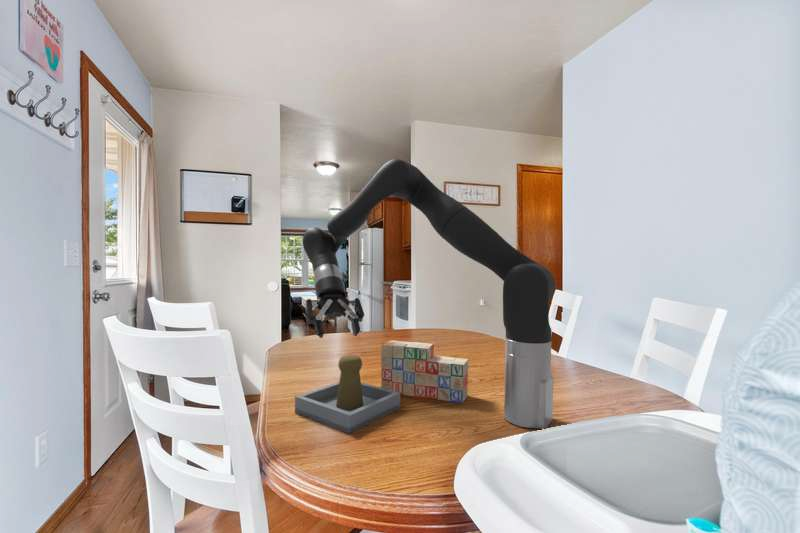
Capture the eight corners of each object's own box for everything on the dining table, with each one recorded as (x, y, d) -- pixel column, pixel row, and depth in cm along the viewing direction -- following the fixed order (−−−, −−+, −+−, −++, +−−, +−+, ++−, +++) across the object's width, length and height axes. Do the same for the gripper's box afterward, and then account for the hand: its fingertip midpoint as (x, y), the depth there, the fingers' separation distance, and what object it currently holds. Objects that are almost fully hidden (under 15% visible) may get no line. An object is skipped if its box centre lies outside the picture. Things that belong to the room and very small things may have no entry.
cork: (358, 411, 82) (359, 360, 82) (331, 409, 83) (332, 358, 83) (366, 401, 88) (367, 353, 88) (341, 399, 89) (342, 352, 89)
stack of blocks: (468, 395, 96) (469, 346, 96) (462, 404, 90) (463, 352, 90) (389, 384, 104) (390, 339, 104) (380, 391, 98) (381, 343, 98)
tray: (400, 408, 87) (400, 392, 87) (349, 433, 74) (349, 415, 74) (347, 392, 97) (347, 378, 97) (294, 412, 83) (295, 396, 83)
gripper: (304, 274, 97) (312, 327, 87) (357, 275, 103) (371, 324, 93) (300, 293, 102) (307, 345, 92) (351, 293, 108) (363, 341, 98)
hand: (339, 335), depth 92 cm, fingers open, 8 cm apart
